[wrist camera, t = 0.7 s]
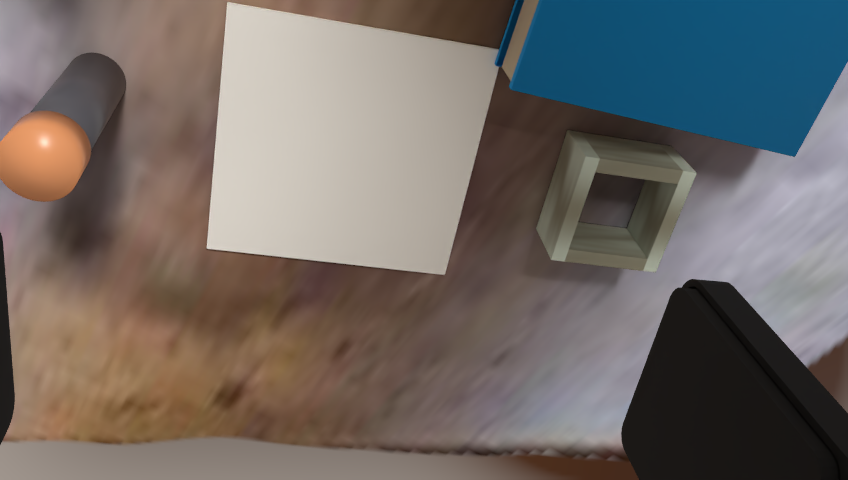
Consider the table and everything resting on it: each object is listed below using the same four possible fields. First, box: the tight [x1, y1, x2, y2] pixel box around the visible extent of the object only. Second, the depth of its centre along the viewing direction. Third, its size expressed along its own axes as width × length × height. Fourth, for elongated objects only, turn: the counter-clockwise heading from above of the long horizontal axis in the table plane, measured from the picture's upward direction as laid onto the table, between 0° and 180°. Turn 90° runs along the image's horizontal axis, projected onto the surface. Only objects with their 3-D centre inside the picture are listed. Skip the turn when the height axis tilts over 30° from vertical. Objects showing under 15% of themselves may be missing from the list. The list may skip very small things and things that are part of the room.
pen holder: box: [536, 130, 697, 272], centre depth 45 cm, size 6×6×4 cm
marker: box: [0, 53, 126, 202], centre depth 35 cm, size 3×3×10 cm
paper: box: [207, 2, 499, 275], centre depth 43 cm, size 14×14×1 cm
